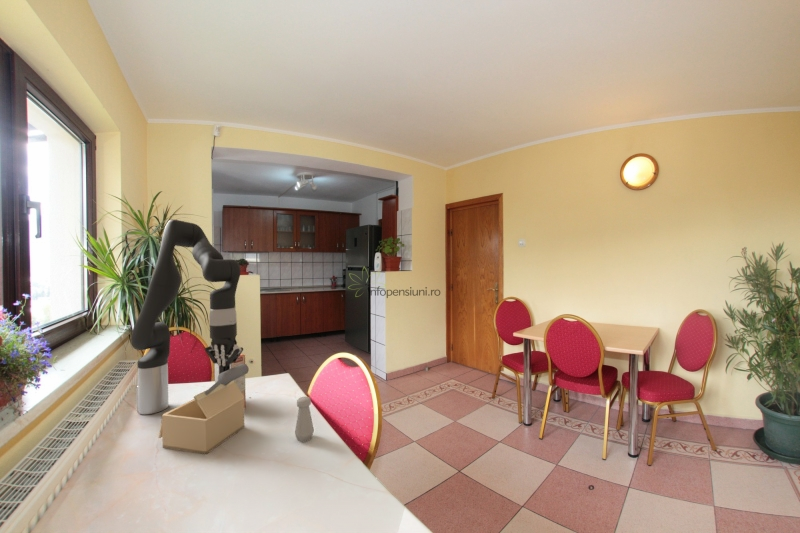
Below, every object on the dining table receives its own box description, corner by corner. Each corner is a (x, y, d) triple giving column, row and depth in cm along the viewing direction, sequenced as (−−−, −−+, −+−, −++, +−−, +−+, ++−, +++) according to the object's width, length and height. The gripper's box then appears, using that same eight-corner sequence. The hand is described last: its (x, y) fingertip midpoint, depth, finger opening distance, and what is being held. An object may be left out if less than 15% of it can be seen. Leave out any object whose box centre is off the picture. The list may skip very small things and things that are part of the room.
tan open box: (156, 446, 99) (156, 414, 99) (200, 421, 115) (199, 393, 114) (206, 454, 95) (205, 420, 95) (244, 426, 110) (243, 397, 110)
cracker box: (246, 407, 125) (245, 354, 125) (230, 413, 120) (229, 358, 120) (230, 398, 134) (229, 348, 133) (214, 403, 129) (213, 351, 128)
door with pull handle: (191, 394, 96) (215, 373, 94) (229, 376, 111) (250, 358, 109) (207, 419, 95) (231, 398, 93) (243, 397, 110) (265, 379, 107)
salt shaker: (317, 435, 105) (316, 395, 104) (306, 444, 99) (306, 403, 99) (302, 432, 106) (301, 393, 106) (291, 441, 101) (290, 400, 101)
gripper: (196, 324, 100) (197, 379, 100) (232, 325, 97) (233, 382, 97) (215, 319, 107) (216, 371, 107) (249, 320, 104) (250, 374, 104)
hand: (224, 376), depth 102 cm, fingers closed
